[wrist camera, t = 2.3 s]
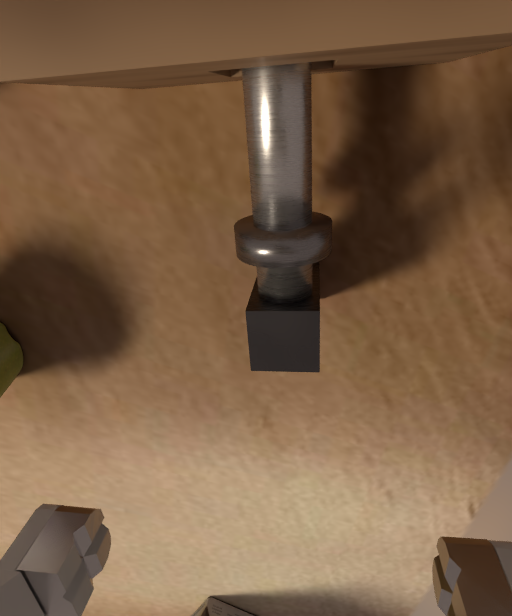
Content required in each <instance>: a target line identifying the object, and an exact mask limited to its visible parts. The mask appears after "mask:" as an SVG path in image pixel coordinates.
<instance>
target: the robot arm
mask: <svg viewBox="0 0 512 616" xmlns="http://www.w3.org/2000/svg"><path fill="white" fill-rule="evenodd" d="M103 519H104V516H103V513H102V511H101V509H95V508H84V507H73V506H64V505H53V504H42V505H41V506H40V507H39V508H37V509H36V510H35V512H34V513H33V514H32V516H31V517H30V519H29V520H28V522H27V523H26V524H25V526H24V527H23V529H22V530H21V532H20V533H19V534H18V536H17V537H16V539H15V540H14V542H13V543H12V544H11V546H10V547H9V549H8V550H7V552H6V553H5V555H4V556H3V557H2V559H1V560H0V616H81V615H82V613H83V611H84V609H85V607H86V605H87V602H88V600H89V598H90V596H91V594H92V592H93V590H94V587H93V580H92V579H93V578H94V577H95V576H96V575H97V574H98V573H99V572H101V571H102V570H103V568H104V565H105V563H106V561H107V559H108V555H109V551H110V546H111V535H110V532H109V529H108V528H107V527H105V526H104V525H103V524H102V521H103ZM437 549H438V553H439V555H438V556H437V557H435V558H434V561H433V567H432V572H433V585H434V592H435V596H436V600H437V604H438V606H439V608H440V609H441V610H442V611H443V613H444V614H445V615H446V616H512V542H507V541H506V542H505V541H491V540H487V539H472V538H471V539H470V538H456V537H440V538H439V539H438V542H437Z"/></svg>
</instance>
